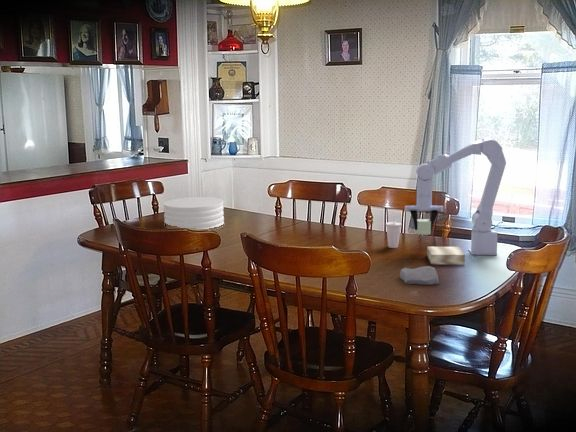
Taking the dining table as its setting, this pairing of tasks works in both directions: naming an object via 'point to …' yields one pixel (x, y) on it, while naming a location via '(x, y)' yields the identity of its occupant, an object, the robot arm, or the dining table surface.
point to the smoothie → (393, 233)
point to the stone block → (420, 275)
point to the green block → (423, 226)
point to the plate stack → (194, 212)
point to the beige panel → (445, 255)
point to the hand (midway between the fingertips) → (423, 229)
